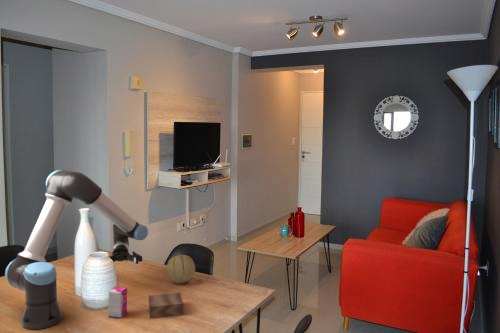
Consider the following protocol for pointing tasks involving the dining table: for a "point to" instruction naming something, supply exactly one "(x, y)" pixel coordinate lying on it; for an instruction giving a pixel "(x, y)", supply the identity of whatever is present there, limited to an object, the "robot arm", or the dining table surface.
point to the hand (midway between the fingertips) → (119, 266)
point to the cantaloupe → (180, 268)
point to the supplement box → (117, 302)
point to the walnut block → (165, 305)
